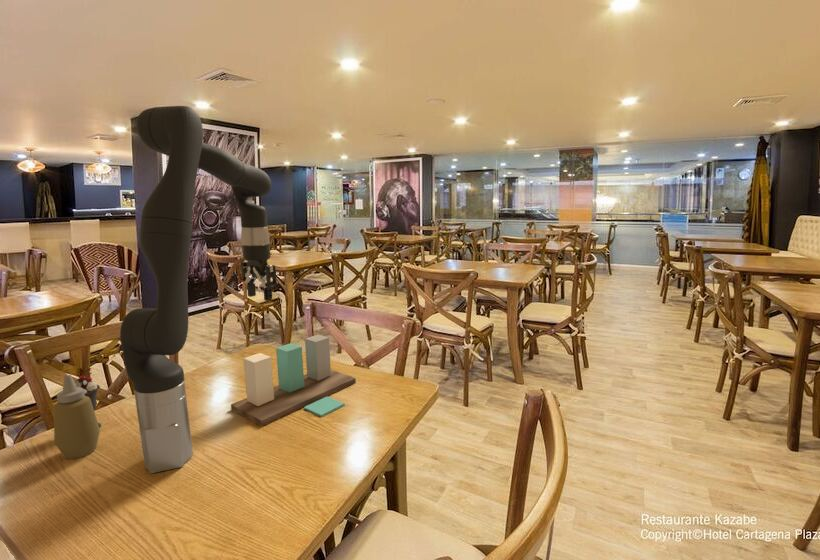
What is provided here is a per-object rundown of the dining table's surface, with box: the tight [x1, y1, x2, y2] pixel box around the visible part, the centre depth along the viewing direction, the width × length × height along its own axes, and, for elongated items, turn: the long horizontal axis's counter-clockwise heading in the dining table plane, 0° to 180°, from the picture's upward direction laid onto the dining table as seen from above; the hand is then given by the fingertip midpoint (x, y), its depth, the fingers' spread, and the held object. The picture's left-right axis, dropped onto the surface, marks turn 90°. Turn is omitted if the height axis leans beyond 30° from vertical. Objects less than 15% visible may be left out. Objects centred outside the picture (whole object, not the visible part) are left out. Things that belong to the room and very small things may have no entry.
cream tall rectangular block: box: [243, 352, 274, 406], centre depth 118 cm, size 5×5×12 cm
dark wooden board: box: [230, 369, 357, 427], centre depth 125 cm, size 14×32×2 cm, turn 141°
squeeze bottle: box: [52, 374, 101, 460], centre depth 97 cm, size 8×8×18 cm
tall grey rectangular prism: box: [304, 334, 332, 381], centre depth 133 cm, size 5×5×12 cm
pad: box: [303, 395, 346, 418], centre depth 118 cm, size 7×8×1 cm
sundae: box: [74, 367, 102, 429], centre depth 107 cm, size 7×7×15 cm
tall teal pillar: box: [275, 342, 305, 393], centre depth 126 cm, size 5×5×12 cm
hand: (260, 298), depth 130 cm, fingers open, 8 cm apart
